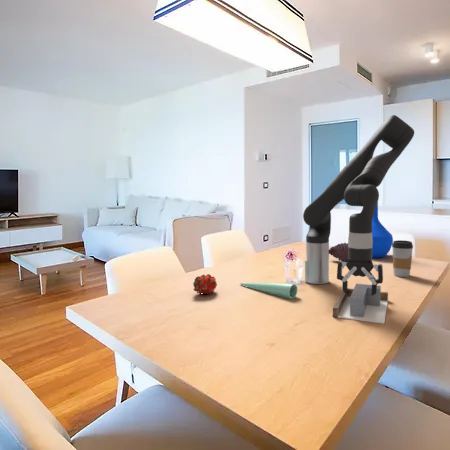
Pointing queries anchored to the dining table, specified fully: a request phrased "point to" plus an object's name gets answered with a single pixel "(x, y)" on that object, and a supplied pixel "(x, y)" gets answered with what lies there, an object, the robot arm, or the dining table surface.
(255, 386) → the dining table surface
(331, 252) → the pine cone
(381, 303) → the mat
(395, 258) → the coffee cup
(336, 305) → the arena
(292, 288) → the mint green cone
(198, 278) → the dragon fruit
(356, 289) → the bracket
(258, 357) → the dining table surface
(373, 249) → the vase
